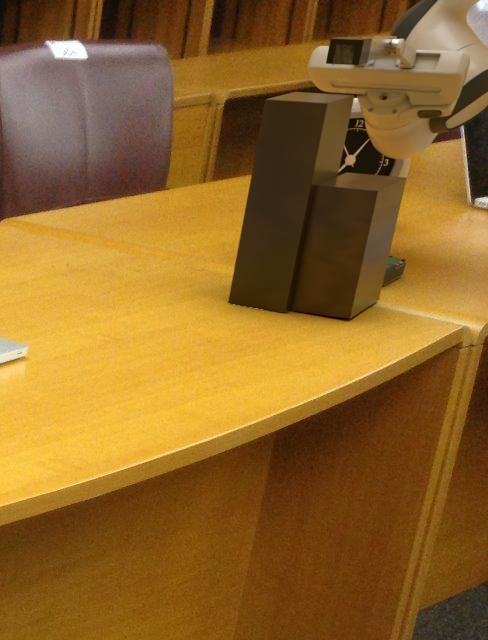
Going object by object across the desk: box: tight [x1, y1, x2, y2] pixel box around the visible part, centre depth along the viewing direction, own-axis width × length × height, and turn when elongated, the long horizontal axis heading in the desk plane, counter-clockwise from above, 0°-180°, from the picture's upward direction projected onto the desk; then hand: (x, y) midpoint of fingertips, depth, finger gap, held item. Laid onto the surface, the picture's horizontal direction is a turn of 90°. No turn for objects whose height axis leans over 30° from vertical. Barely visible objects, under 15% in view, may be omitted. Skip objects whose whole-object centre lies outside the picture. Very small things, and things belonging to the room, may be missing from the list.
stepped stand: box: [227, 91, 407, 320], centre depth 200 cm, size 15×16×26 cm
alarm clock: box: [338, 97, 411, 178], centre depth 251 cm, size 18×8×20 cm, turn 73°
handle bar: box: [326, 35, 397, 65], centre depth 201 cm, size 4×20×3 cm, turn 141°
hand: (381, 43), depth 206 cm, fingers closed on handle bar, 2 cm apart
